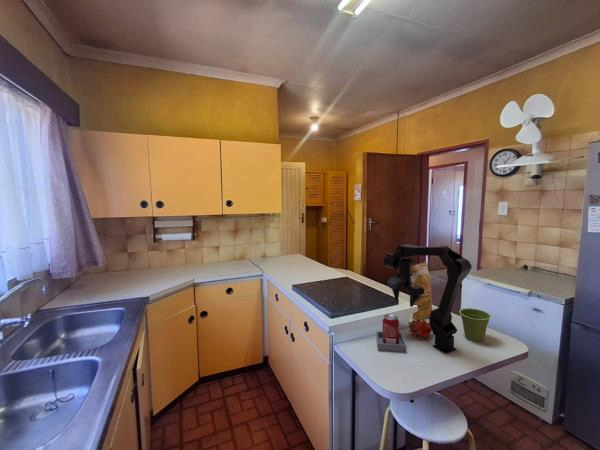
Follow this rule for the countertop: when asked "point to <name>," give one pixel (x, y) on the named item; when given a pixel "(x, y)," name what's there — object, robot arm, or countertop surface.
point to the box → (390, 347)
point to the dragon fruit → (420, 328)
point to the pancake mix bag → (424, 300)
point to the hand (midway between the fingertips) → (403, 303)
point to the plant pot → (474, 323)
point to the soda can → (390, 329)
